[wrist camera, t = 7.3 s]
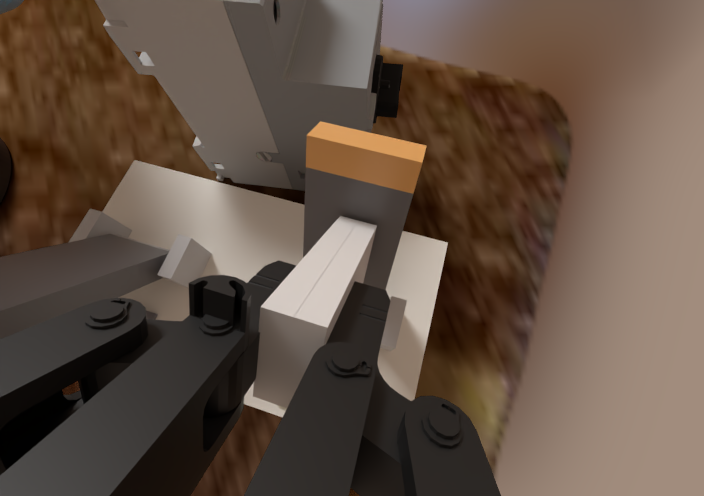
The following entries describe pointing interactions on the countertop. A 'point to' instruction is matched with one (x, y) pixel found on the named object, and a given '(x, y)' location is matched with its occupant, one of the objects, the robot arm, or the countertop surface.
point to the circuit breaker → (260, 74)
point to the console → (255, 256)
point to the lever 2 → (360, 188)
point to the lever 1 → (72, 277)
